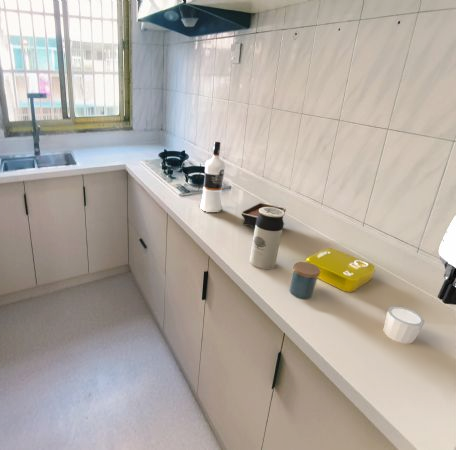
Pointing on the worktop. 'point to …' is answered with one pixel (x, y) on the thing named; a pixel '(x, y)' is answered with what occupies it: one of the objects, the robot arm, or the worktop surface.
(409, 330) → the white cup
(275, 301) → the worktop surface
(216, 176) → the vodka
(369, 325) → the worktop surface
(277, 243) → the travel mug
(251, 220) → the baking dish
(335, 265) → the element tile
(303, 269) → the salt pot
